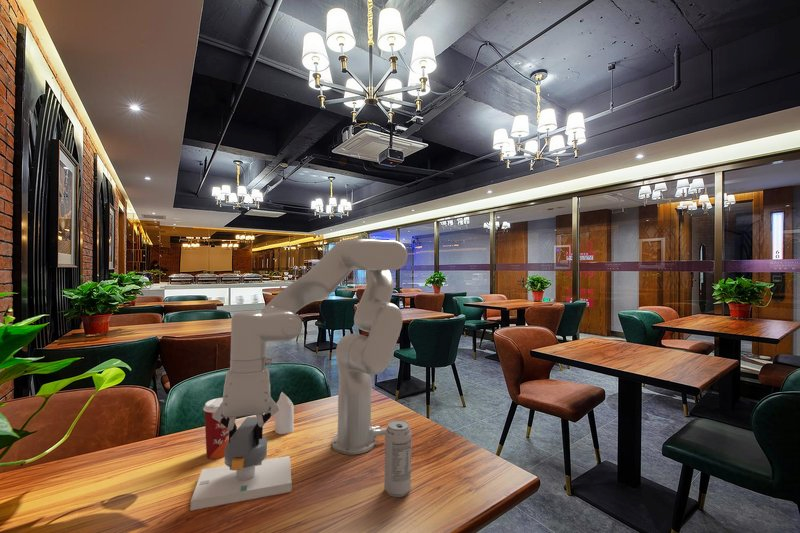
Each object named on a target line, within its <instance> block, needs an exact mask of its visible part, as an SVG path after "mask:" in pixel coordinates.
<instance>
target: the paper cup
mask: <svg viewBox="0 0 800 533" xmlns="http://www.w3.org/2000/svg"><path fill="white" fill-rule="evenodd" d="M222 402H223V397H217V398H213V399H210V400H208V401H207V402H205V404H204V406H203V408H202V409H203V411H204V425H205V426H204V427H205V429H204V430H205V431H204V432H205V449H206V450H205V451H206V457H207V459H209V460H218V459H222V458H225V446H226V445H227V444H228V443H229V430H228V429H227V428H226V427H225V426H224V425H223V424H221V422H219V421H217V420H215V419H213V418H212V416H213V413H214V412H215V411H216V410H217V408H218V407H219V406H220V404H221V403H222ZM221 414H222V413H221ZM228 418H229V419H230V417H228Z"/></svg>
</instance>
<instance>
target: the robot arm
mask: <svg viewBox="0 0 800 533" xmlns="http://www.w3.org/2000/svg"><path fill="white" fill-rule="evenodd" d="M407 260H408V250H407V248H406V246H405V245H404V244H403V243H402V242H400V241H398V240H389V239H388V240H387V239H373V238H372V239H371V238H352V239H344V240H341V241H339V242H337V243H335V244H334V245H333V246H332V247H331V248H330V250H328V251H327V252H326V253H325V254H324V256H323V257H322V258H320V260H318V261H317V262H316V264H314V266H313V267H311V269H309V271H308V272H306V273H304V274H303V275H302V276H300V277H299V278H297V279H296V280H294V281H293V282H292V283H289V285H287V286H286V287H285V288H283V289H282V290H281V291H279V293H277V294H276V295H275V296H274V297H272V299H271V300H269V302H268V303H266V305H265V306H264V307H263V308H262V309H261V310H260V311H256V310H249V311H247V310H245V311H238V312H235V313H234V314H233V315H232V318H231V325H230V326H231V328H230V329H231V331H230V360H229V364H230V365H229V366H230V367H229V369H228V370H227V371H226V374H225V379H224V386H223V394H222V398H223V402H222V403H221V404H220V406H219V407H218V408H217V410H216V411H215V412H214V413H213V416H212V418H213V419H215V420H217V421H219V422H221V424H223V425H224V426H225V427H226V428H227V429H228V430H229V443H230V438H231V437H232V435H233V434H234V433H235V432H236V430H237V429H238V426H237V424H236V419H237V418H238V417H239V418H240V417H247V416H249V417H250V416H255V417H257V424H256V445H259V439H262V437H263V430H264V428H263V427H264V425H265V424H266V423H267V422H268V420H270V419H271V417H273V416H275V413H277V412H278V411H279V407H278V405H277V404H276V403H277V402H276V401H275V400H274V399H273V398H272V395H271V378H270V370H269V367H267V366H269V365H272V363H273V362H272V358H269V357H267V356H266V353H267V352H266V351H267V349H266V347H267V342H280V343H281V342H283V343H284V342H290V341H292V340H294V339H296V338H297V337H298V336H299V335H300V334H301V332H302V329H303V321H302V318H301V317H300V315H298V314H297V312H298V311H300V310H301V309H302V308H304V307H305V306H307V305H310V304H311V303H314V302H316V301H319V300H322V299H325V298H327V297H328V296H330V295H332V294H333V293H334V292H335V291H336V289H338V287H339V286H340V285H341V284H342V283H343V282H344V280H346V278H347V277H348V276H349V275H350V274H351V273H352V271H353V272H354V270H356V271H357V270H358V271H365V273H366V285H365V289H364V291H363V293H362V296H361V298H360V301H359V304H358V306H357V307H356V310H355V313H354V317H353V321H354V325H355V326H356V328H358V329H359V330H361V331H363V332H367V333H368V336H366V335H364V334H360V333H349V334H347V335H344V336H343V337H341V338H340V340H339V342H338V343H337V345H336V348H335V359H336V364H337V365H336V366H337V373H338V391H337V393H338V394H337V395H338V397H337V398H338V400H337V434H336V435H335V436H333V438H332V441H331V446H332V448H333V450H335V451H336V452H338V453H340V454H344V455H350V456H351V455H361V454H364V453H367V452H369V451H371V450H372V449H373V448H374V447H375V446H376V443H377V441H376V440H377V439H376V438H377V437H378V436H380V437H382V436H385V431H386V429H387V428H386V427H382V428H381V426H380V425H375V426H372V425H371V424H372V422H371V421H372V376H376V375H379V374H381V373H383V371H385V369H386V368H387V367H388V365H389V363H390V361H391V358H392V356H393V352H394V350H395V347H396V344H397V343H398V342H397V341H398V340H399V336H400V334H401V330H402V328H403V315H402V314H403V313H402V310H401V309H400V308H399V307H398V305H396V304H395V303H392V302H391V299H392V296H393V293H394V287H395V284H394V283H395V282H394V279H393V276H392V273H391V271H397V270H400V269H401V268H403V267H404V266H405V264H406V263H407ZM221 413H222V414H221ZM228 417H230V419H229V418H228Z"/></svg>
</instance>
